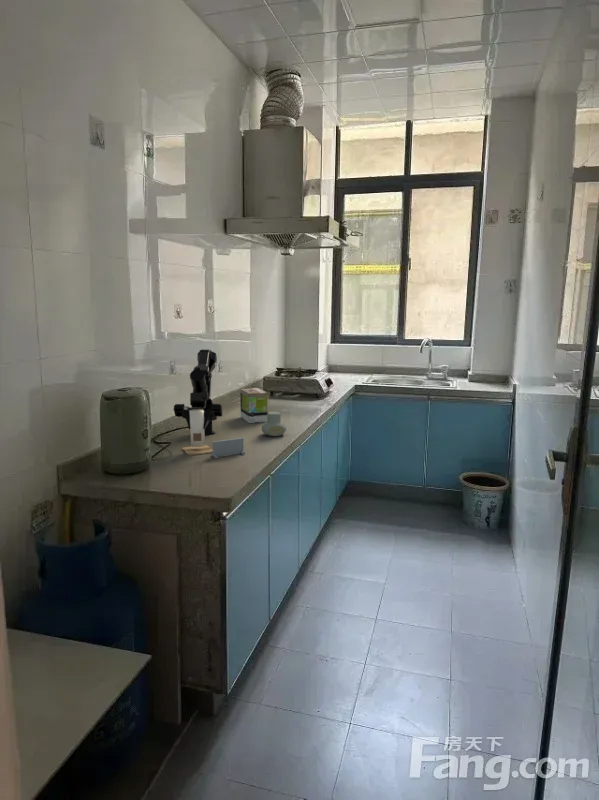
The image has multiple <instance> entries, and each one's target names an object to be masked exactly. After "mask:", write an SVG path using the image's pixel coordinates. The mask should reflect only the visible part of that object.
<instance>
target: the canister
mask: <svg viewBox="0 0 599 800" xmlns="http://www.w3.org/2000/svg"><path fill="white" fill-rule="evenodd" d="M189 414H190V429H189V431H190V432H189V433H190V434H189V435H190V447H202V446H204V445H206V436H205V430H204V410H203V409H192V410H190V413H189Z"/></svg>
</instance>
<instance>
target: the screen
mask: <svg viewBox="0 0 599 800" xmlns="http://www.w3.org/2000/svg"><path fill="white" fill-rule="evenodd" d="M212 450H213V453H211V456H212V457H213V458H214V457H215V458H214V459H218V458H219V457H218V456H220V457H225V456H226V457H229V456H233V455H234V454H235V455H246V451H245V449H244V438H243V437H238V438H230V439H221V440H214V441H213V440H212Z"/></svg>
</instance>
